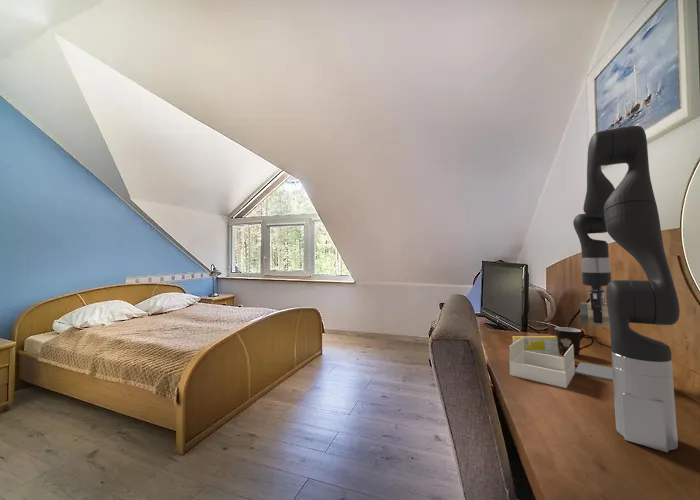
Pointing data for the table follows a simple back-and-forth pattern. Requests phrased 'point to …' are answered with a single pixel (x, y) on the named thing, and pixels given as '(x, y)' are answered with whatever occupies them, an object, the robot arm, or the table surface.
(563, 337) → the coffee mug
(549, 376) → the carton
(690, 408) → the table surface
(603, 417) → the table surface
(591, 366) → the rubber mat
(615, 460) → the table surface
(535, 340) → the candy box
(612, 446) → the table surface
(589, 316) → the birch block
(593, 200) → the robot arm
